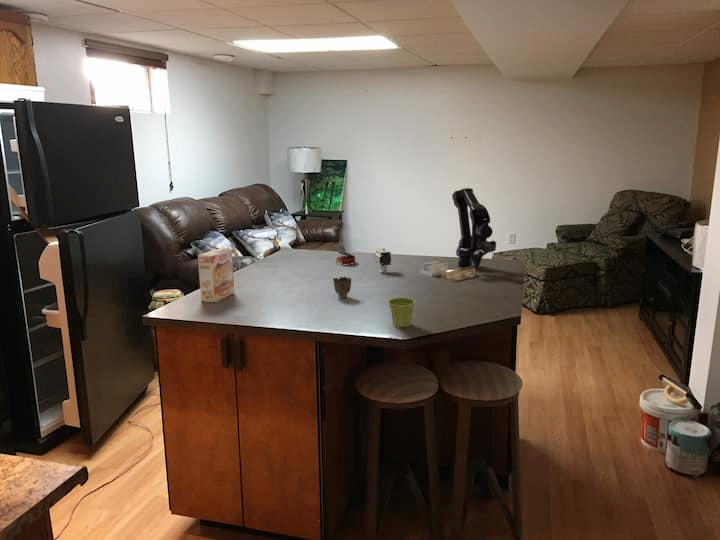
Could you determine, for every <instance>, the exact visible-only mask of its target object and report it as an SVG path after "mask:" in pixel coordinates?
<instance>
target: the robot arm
mask: <svg viewBox="0 0 720 540" xmlns="http://www.w3.org/2000/svg"><path fill="white" fill-rule="evenodd" d="M452 201H453V205H454V206H455V207H456V209H457V213H458V220H459V228H460V239H459V241H458V246H457V248H456V250H455V255H456V256H457V257H458V266H457V267H458V268H465V267H470V266H473V264H474V268H475V269H476V268H477V269H478V268H479V267H480V264H481V262H482V259H483V257H484V256H485V255H487V254H489V253H493V252H495V251H496V248H497V241H495V240H491V241H488V240H487V239H489V238H490V237H492V235H493V228H492V227H491V226H490V225H489V224H491V217H490V214H489V212H488V211H489V210H487V208H486V206H485V205H484V204H481V203H480V202H479V201H478V199H477V196H476V195H475V194H474V190H473V188H471V187H468V188H462V189H459V190H455V191H454V192H453V193H452ZM470 221H471V225H470Z"/></svg>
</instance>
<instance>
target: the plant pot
mask: <svg viewBox="0 0 720 540" xmlns="http://www.w3.org/2000/svg"><path fill="white" fill-rule="evenodd" d="M387 303H388V304H389V308H390V312H391V318H392V325H393V326H394V327H395V328H408V327H410V326H411V324H412V320H413V319H412V317H413V310H414V308H415V304H416V300H415V299H413V298H409V297H397V298H390V299H389V300H388V301H387Z"/></svg>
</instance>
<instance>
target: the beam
mask: <svg viewBox="0 0 720 540" xmlns="http://www.w3.org/2000/svg"><path fill="white" fill-rule="evenodd" d="M475 274H476V271H475V272H473V271H472V272H467V273H462V274H458V275H453V276H451V279H450V280H448V281H449V282H456V281H457V282H458V281H461V280H465V279H470V278H474V277H476V276H475ZM442 279H443V280H446V279H445V277H444V273H442V274H441V280H442Z"/></svg>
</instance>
